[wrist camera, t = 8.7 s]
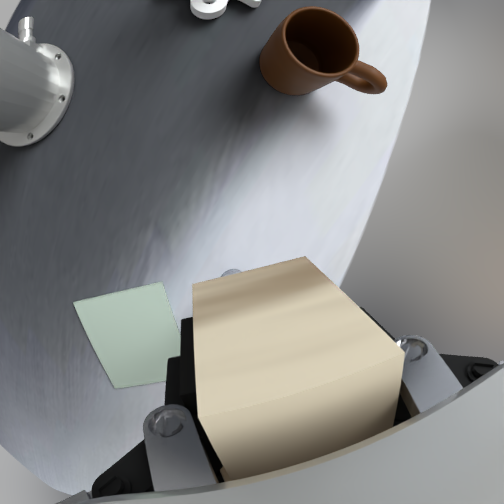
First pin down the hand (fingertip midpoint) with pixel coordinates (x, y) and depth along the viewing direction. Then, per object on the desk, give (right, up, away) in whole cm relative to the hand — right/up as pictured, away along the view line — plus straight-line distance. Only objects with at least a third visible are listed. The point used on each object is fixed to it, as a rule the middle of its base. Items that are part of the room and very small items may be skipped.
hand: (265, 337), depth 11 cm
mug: (+6, +23, +20) cm, 31 cm away
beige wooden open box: (+1, -5, +2) cm, 5 cm away
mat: (-15, -8, +25) cm, 31 cm away
